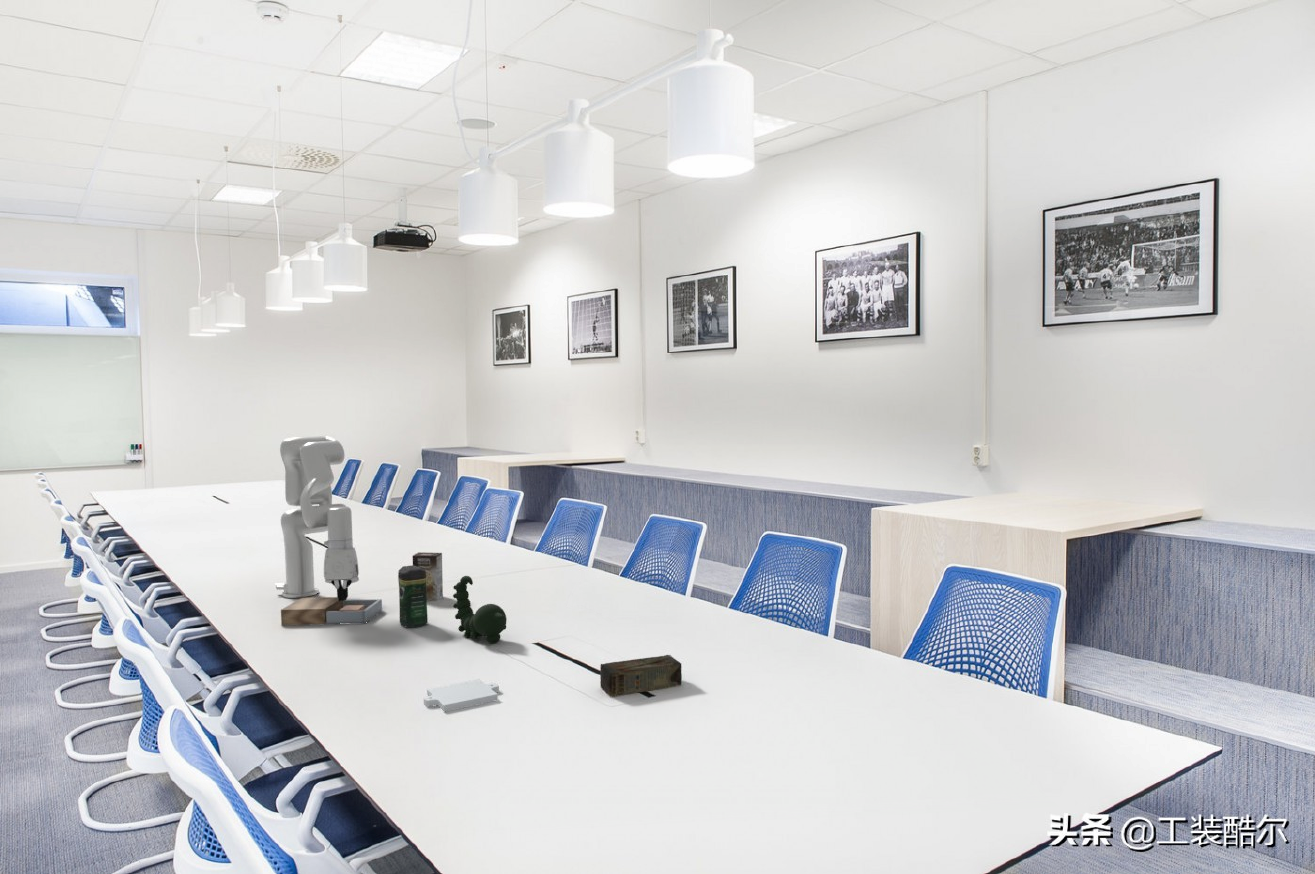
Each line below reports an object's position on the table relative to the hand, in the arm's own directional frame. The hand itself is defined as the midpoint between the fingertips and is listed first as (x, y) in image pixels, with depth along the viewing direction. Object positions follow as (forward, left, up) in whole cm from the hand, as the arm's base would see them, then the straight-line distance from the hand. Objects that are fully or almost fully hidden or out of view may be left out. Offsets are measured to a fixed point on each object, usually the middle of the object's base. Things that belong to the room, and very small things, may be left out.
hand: (342, 599), depth 283 cm
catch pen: (+4, 0, -6) cm, 7 cm away
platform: (-10, 0, -6) cm, 12 cm away
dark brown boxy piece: (+100, -71, -6) cm, 123 cm away
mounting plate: (+57, -77, -7) cm, 96 cm away
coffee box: (+21, +25, -6) cm, 33 cm away
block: (+3, -1, -2) cm, 4 cm away
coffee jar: (+26, -10, -6) cm, 29 cm away
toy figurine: (+51, -27, -6) cm, 58 cm away
